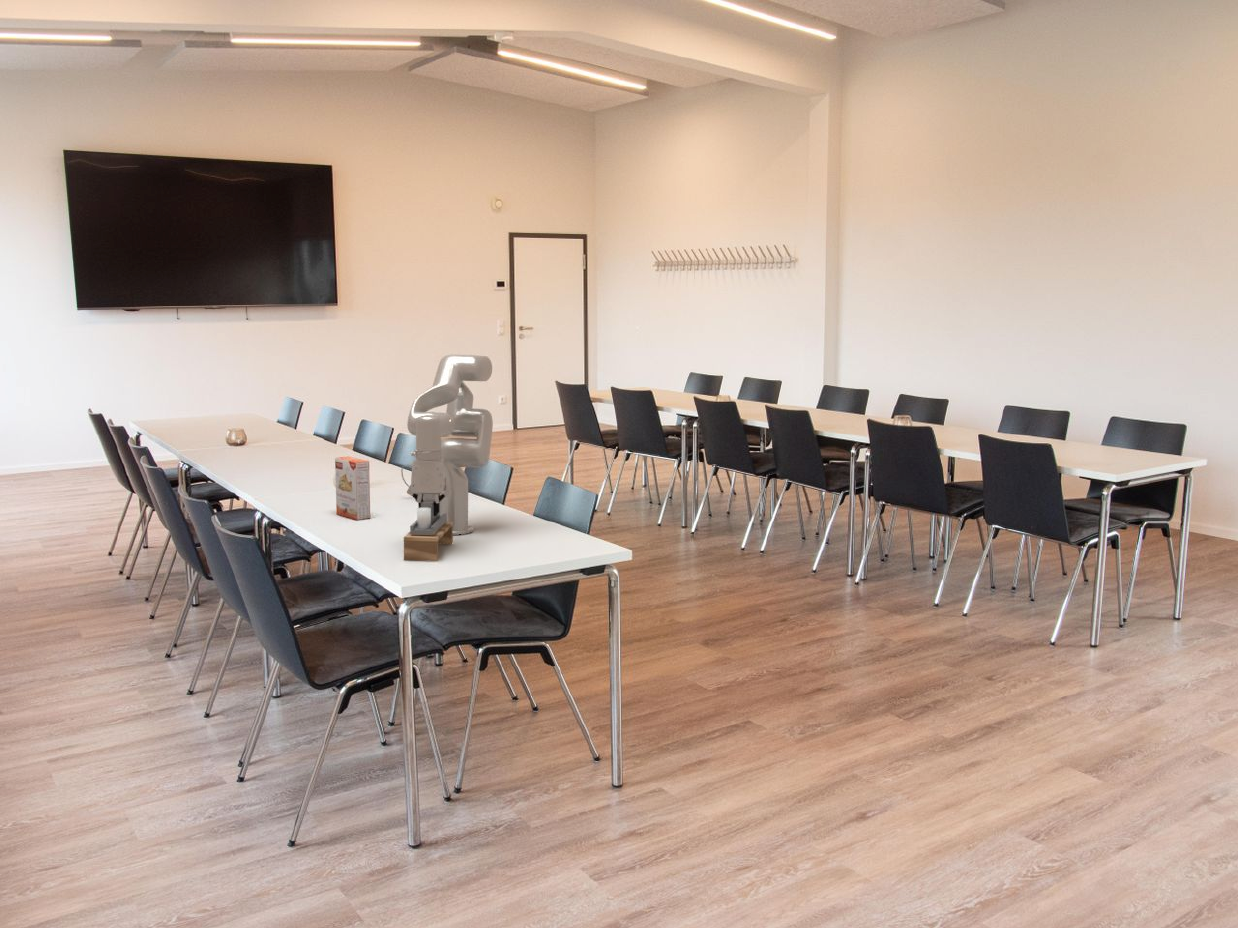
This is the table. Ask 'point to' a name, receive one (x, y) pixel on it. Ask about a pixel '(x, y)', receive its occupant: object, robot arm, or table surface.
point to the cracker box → (352, 488)
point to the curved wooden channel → (427, 544)
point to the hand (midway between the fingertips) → (429, 514)
